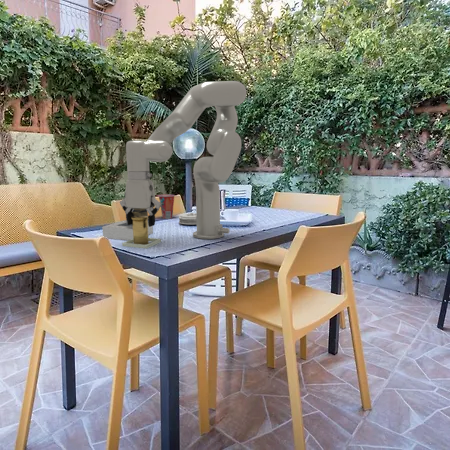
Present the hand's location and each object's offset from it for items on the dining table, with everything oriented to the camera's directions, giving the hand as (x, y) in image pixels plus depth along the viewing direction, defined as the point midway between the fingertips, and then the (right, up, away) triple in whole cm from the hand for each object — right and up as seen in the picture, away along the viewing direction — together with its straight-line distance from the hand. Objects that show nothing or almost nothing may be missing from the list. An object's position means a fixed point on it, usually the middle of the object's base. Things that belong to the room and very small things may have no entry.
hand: (141, 224), depth 127 cm
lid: (+14, 0, +42) cm, 45 cm away
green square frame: (0, -7, +2) cm, 8 cm away
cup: (0, +3, +57) cm, 57 cm away
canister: (-9, -2, +31) cm, 32 cm away
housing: (-9, -5, +15) cm, 18 cm away
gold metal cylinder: (0, -7, +2) cm, 7 cm away
